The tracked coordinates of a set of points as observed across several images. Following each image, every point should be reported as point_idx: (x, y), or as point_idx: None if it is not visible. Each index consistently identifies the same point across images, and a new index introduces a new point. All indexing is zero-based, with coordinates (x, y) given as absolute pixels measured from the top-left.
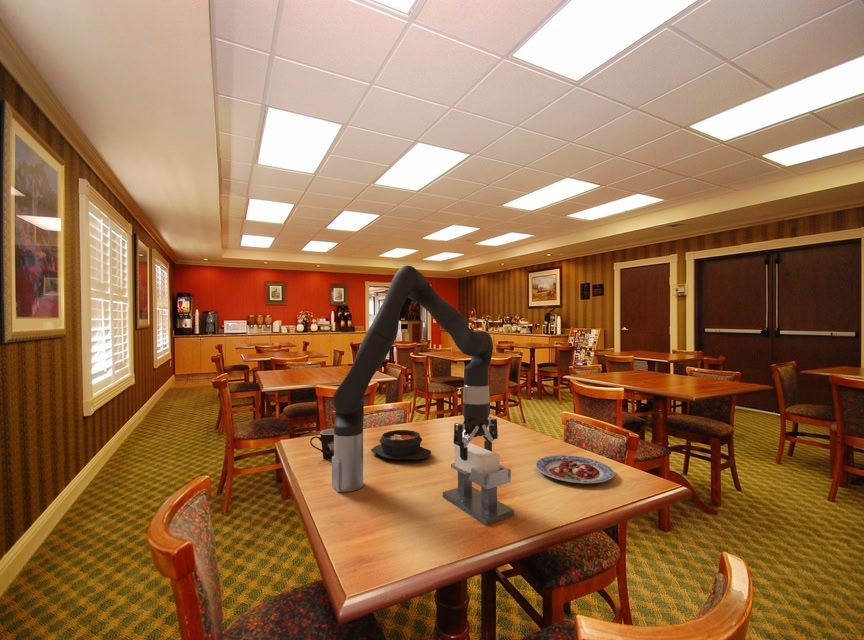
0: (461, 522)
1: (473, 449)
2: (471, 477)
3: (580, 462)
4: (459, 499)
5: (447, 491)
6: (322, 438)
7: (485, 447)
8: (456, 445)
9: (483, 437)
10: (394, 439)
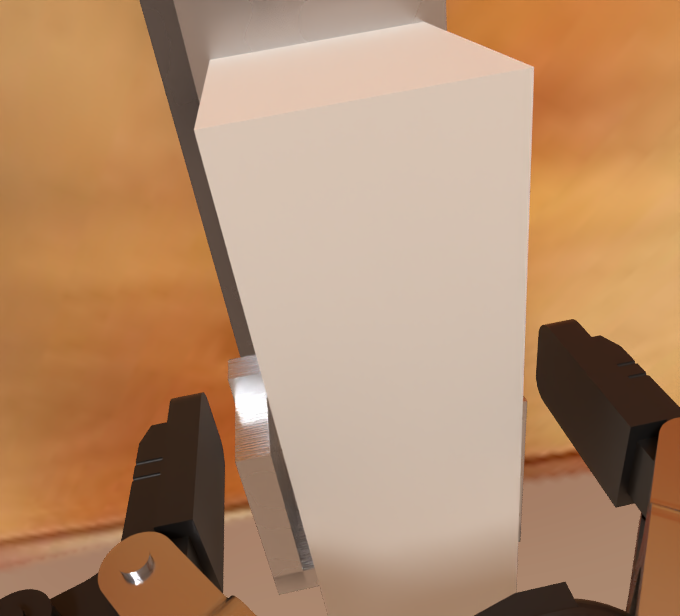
0: (141, 320)
1: (378, 424)
2: (235, 406)
3: None
4: None
5: None
6: None
7: (579, 387)
8: (213, 167)
9: (653, 472)
10: None
